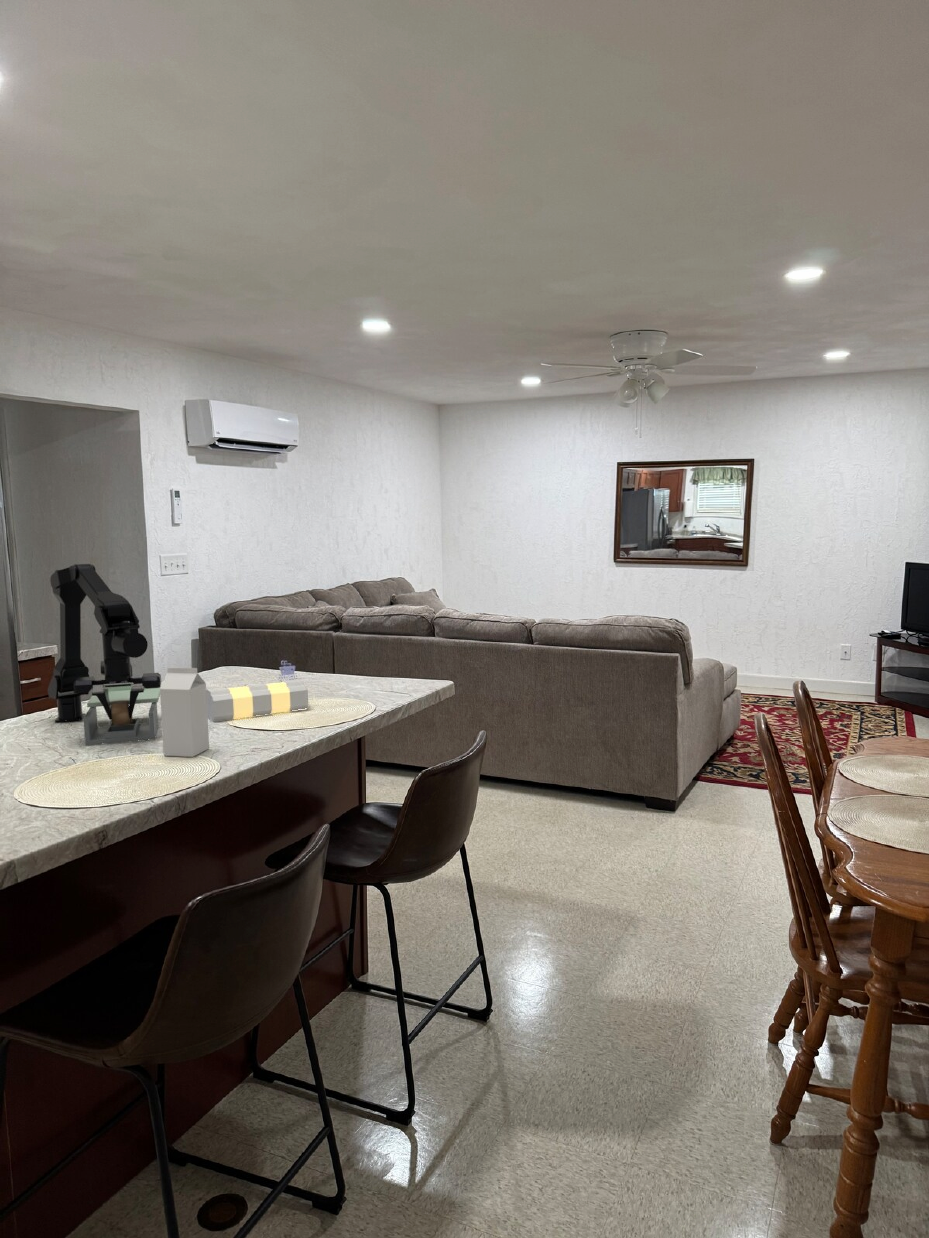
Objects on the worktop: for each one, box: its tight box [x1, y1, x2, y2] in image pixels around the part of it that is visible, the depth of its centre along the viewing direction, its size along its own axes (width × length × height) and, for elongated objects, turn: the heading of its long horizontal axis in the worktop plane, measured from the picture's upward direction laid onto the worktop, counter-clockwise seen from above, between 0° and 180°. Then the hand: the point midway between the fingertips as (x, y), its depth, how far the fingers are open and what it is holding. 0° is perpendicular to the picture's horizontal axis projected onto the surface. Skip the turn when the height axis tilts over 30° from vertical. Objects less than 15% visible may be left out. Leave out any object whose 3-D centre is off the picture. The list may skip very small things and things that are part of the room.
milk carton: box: [159, 667, 210, 758], centre depth 185 cm, size 7×7×19 cm
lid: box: [86, 686, 161, 708], centre depth 211 cm, size 15×16×3 cm
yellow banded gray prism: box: [206, 660, 309, 723], centre depth 223 cm, size 25×10×13 cm, turn 120°
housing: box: [83, 702, 159, 746], centre depth 202 cm, size 14×15×6 cm
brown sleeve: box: [110, 700, 130, 725], centre depth 198 cm, size 4×4×5 cm
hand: (120, 718), depth 198 cm, fingers closed on brown sleeve, 4 cm apart
